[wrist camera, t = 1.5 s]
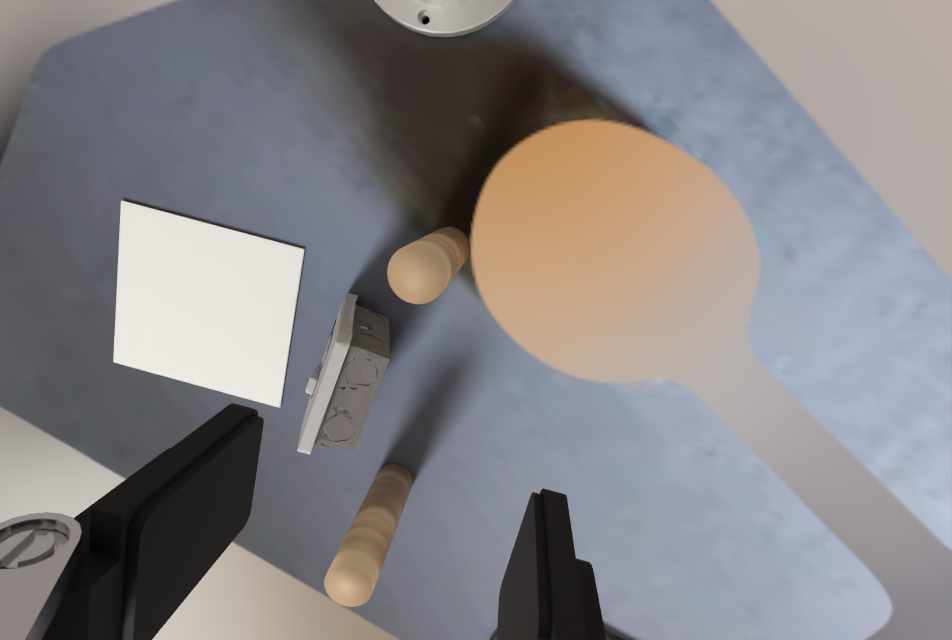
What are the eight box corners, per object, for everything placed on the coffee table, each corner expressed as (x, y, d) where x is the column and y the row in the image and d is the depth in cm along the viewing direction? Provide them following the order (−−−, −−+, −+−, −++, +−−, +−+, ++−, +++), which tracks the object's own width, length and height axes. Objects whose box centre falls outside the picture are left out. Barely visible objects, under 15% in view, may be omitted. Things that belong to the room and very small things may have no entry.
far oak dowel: (380, 459, 43) (328, 559, 31) (415, 469, 43) (376, 573, 31) (373, 490, 44) (320, 598, 32) (408, 499, 44) (367, 612, 32)
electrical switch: (349, 288, 39) (311, 324, 30) (410, 312, 40) (390, 354, 31) (314, 387, 42) (270, 447, 33) (372, 408, 42) (344, 473, 33)
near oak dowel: (433, 221, 37) (393, 237, 26) (474, 232, 37) (453, 253, 25) (424, 262, 38) (382, 295, 26) (464, 273, 38) (439, 310, 26)
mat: (122, 200, 39) (121, 200, 39) (305, 249, 38) (304, 249, 38) (115, 361, 43) (113, 362, 42) (280, 406, 42) (279, 407, 42)
